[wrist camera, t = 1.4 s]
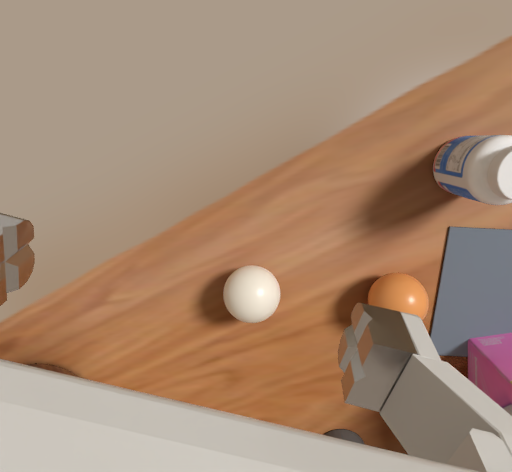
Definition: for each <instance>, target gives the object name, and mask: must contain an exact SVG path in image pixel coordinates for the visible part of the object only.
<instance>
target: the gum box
mask: <svg viewBox="0 0 512 472" xmlns="http://www.w3.org/2000/svg"><path fill="white" fill-rule="evenodd" d="M468 380H469V381H471V382H472V383H473V384H474V385H475V386H477V387H478V388H479V389H480V390H481V391H483V392H484V393H485V394H486V395H487V396H489V397H490V398H491V399H492V400H493V401H494V402H496V403H497V404H498V405H499V406H500V407H502V408H503V409H504V410H505V411H506V412H508V413H509V414H510V415H511V416H512V333H506V334H499V335H492V336H485V337H477V338H470V339H469V340H468Z"/></svg>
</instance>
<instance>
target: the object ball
mask: <svg viewBox="0 0 512 472" xmlns="http://www.w3.org/2000/svg"><path fill="white" fill-rule="evenodd" d="M368 305H372V306H377V307H381V308H386V309H390V310H395V311H400V312H405V313H409V314H414V315H417V316H419V317H420V318H421V320H422V321H423V319H424V318H425V316H426V314H427V311H428V307H429V300H428V295H427V293H426V290H425V289H424V287H423V286H422V284H421V283H420V282H419V281H418V280H416V279H415V278H413V277H412V276H409V275H407V274H403V273H390V274H386V275H384V276H382V277H380V278H379V279H377V280H376V281H375V282H374V284H373V285H372V286H371V288H370V291H369V294H368Z"/></svg>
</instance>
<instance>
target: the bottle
mask: <svg viewBox="0 0 512 472" xmlns="http://www.w3.org/2000/svg"><path fill="white" fill-rule="evenodd" d="M324 435H326V436H330V437H334V438H339V439H343V440H347V441H352V442H356V443H360V444H364V442H363V440H362V439H361V438H360V436H359V435H357V434H356V433H354V432H352V431H349V430H345V429H336V430H332V431H329V432H327V433H326V434H324ZM364 445H365V444H364Z"/></svg>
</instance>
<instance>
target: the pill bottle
mask: <svg viewBox="0 0 512 472" xmlns="http://www.w3.org/2000/svg"><path fill="white" fill-rule="evenodd" d="M433 174H434V178H435V180H436V182H437V183H438V185H439V186H440V187H441V188H442V189H444V190H445V191H447V192H449V193H452V194H455V195H459V196H462V197H465V198H468V199H472V200H476V201H479V202H482V203H486V204H491V205H505V204H509V203H512V136H510V135H491V136H462V137H457V138H454V139H452V140H450V141H448V142H447V143H446V144H444V145H443V146H442V147H441V149H440V150H439V151H438V153H437V155H436V157H435V159H434V163H433Z"/></svg>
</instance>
